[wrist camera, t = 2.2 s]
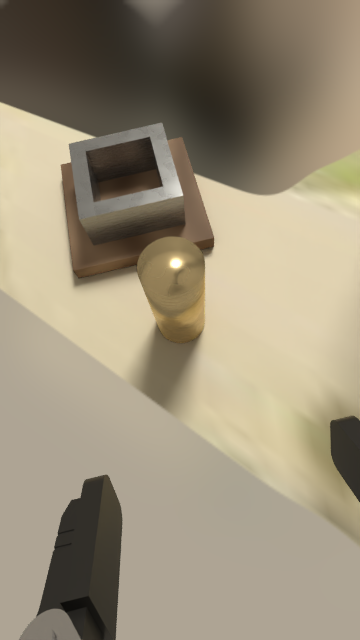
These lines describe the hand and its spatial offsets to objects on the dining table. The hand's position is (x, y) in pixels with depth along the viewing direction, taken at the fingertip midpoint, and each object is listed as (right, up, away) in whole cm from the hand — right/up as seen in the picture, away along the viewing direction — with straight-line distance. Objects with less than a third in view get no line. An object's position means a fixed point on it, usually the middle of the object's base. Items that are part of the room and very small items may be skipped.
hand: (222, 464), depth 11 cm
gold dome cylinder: (-1, +5, +19) cm, 19 cm away
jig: (-6, +17, +24) cm, 30 cm away
